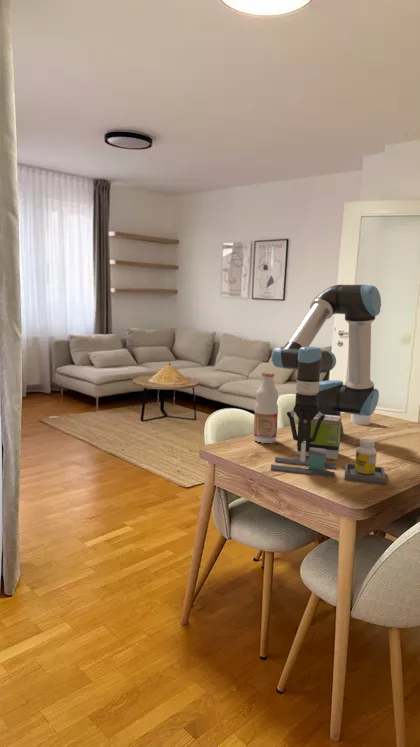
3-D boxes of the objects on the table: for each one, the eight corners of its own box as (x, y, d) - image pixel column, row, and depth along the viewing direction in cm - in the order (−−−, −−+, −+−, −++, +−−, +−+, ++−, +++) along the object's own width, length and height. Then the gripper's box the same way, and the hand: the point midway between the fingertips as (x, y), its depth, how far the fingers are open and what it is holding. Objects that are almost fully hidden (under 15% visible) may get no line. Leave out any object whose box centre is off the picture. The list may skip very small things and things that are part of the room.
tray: (345, 468, 175) (345, 462, 174) (383, 472, 171) (383, 467, 171) (344, 479, 164) (344, 473, 163) (385, 484, 160) (385, 478, 160)
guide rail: (275, 460, 180) (275, 456, 180) (335, 467, 175) (335, 463, 175) (270, 469, 171) (271, 465, 171) (334, 477, 165) (334, 473, 165)
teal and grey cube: (309, 465, 175) (310, 447, 174) (325, 467, 174) (326, 449, 173) (307, 471, 169) (308, 452, 168) (323, 473, 168) (325, 454, 167)
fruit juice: (248, 438, 207) (252, 371, 203) (268, 436, 212) (271, 371, 207) (261, 445, 199) (264, 375, 195) (280, 442, 203) (284, 374, 199)
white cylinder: (351, 424, 239) (353, 399, 237) (349, 419, 248) (351, 395, 246) (371, 425, 238) (373, 400, 236) (368, 421, 246) (370, 397, 245)
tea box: (339, 453, 192) (342, 415, 190) (337, 460, 183) (340, 421, 181) (299, 448, 197) (302, 411, 195) (295, 455, 188) (298, 416, 185)
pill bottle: (351, 471, 170) (354, 437, 169) (369, 471, 171) (372, 437, 169) (358, 477, 164) (361, 443, 162) (377, 477, 164) (380, 443, 163)
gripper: (286, 393, 167) (282, 461, 171) (326, 396, 164) (321, 466, 167) (289, 389, 174) (285, 455, 178) (327, 392, 171) (323, 459, 174)
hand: (302, 460), depth 173 cm, fingers closed
